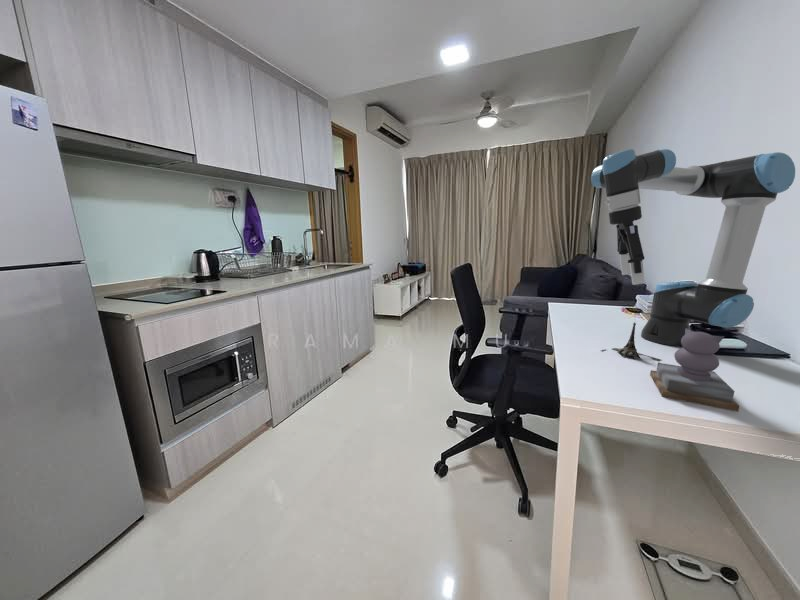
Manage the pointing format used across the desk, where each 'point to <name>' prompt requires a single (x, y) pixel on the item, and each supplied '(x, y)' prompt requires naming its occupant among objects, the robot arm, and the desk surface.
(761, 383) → the desk surface
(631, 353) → the eiffel tower figurine
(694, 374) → the cat figurine
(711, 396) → the display plinth
